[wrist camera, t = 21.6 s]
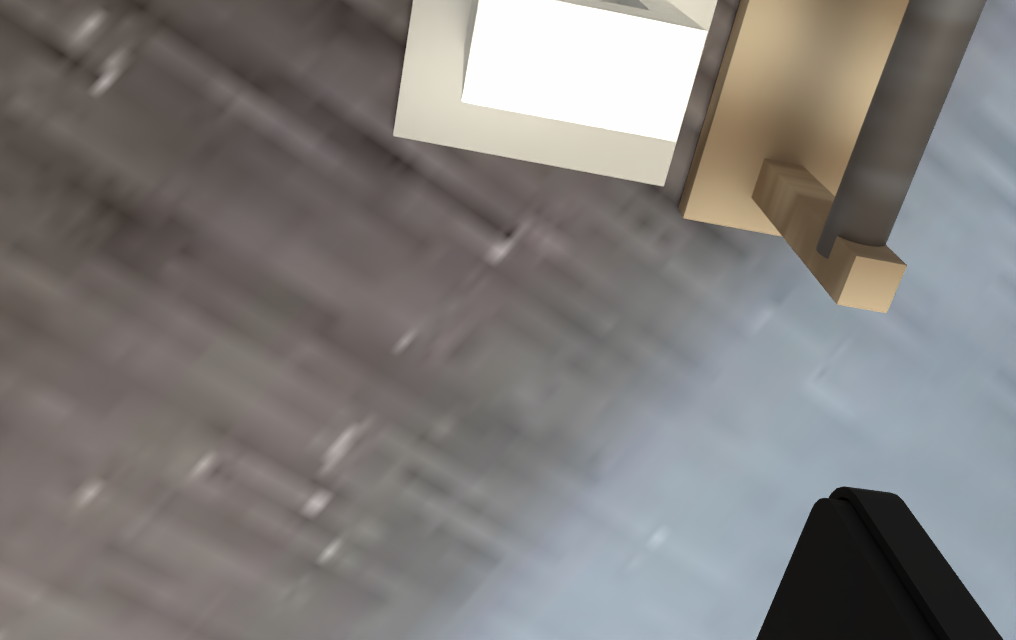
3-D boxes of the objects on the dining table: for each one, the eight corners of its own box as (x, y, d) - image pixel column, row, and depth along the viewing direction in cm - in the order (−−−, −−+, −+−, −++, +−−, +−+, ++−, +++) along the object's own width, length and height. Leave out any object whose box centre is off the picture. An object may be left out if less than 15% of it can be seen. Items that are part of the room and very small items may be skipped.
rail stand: (825, 236, 36) (942, 363, 27) (677, 208, 35) (747, 330, 26) (1032, -308, 28) (1293, -382, 19) (847, -357, 27) (1028, -457, 18)
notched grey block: (463, 48, 31) (461, 101, 25) (479, -45, 30) (481, -15, 23) (633, 81, 32) (676, 141, 26) (656, -8, 31) (707, 31, 24)
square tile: (394, 129, 33) (393, 135, 33) (440, -178, 29) (439, -178, 28) (659, 179, 35) (663, 186, 34) (742, -109, 30) (748, -108, 30)
